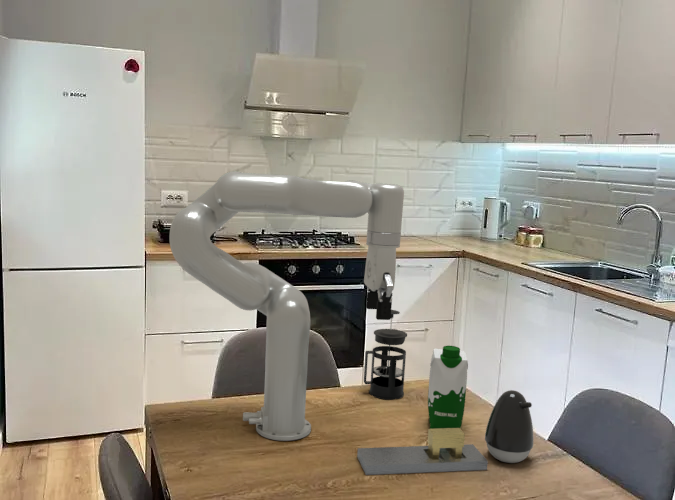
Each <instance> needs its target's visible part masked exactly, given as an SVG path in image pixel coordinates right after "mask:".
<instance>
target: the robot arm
mask: <svg viewBox="0 0 675 500" xmlns="http://www.w3.org/2000/svg"><path fill="white" fill-rule="evenodd" d="M404 198H405V190H404V188H403V186H401V185H399V184H395V183H394V184H393V183H382V182H381V183H380V182H379V183H367V182H364V181H358V180H345V181H331V180H328V181H327V180H317V179H308V178H305V177H301V176H297V175H290V174H273V173H256V172H255V173H254V172H253V173H252V172H242V171H234V170H233V171H229V172H227V173H224V174H222V175H220V177H219V178H218V180H217V181H216V182H215V183H214V184H213V185H211V187H209V188H208V189H207V190H206V191H205V192H204V193H202V194H201V195H200V196H199V197H197V198H196V199H195V200H193V201H192V202H191V203H190V204H188V205H187V206H186V207H184V208H182V209H181V210H179V211H178V212H177V213H176V214H175V216H174V217H173V219H172V222H171V225H170V229H169V245H170V250H171V253H172V256H173V257H174V260H175V262H177V264H178V265H179V266H180V267H181V268H182V269H183V271H185V272H186V273H187V274H189V276H191V277H193V279H194V278H195V280H198V281H199V282H200V283H202V284H203V285H205V286H206V287H208V288H209V289H210V290H212V291H213V292H215V293H216V294H218V295H220V296H221V297H222V298H225V299H226V300H227V301H228V302H230V303H232V305H234V306H236V307H238V308H239V309H240V310H244V311H254V310H257V311H259V313H262V315H264V316H266V326H265V327H266V334H265V336H266V337H265V361H264V365H265V369H264V371H265V372H264V390H263V391H264V392H263V393H264V396H263V406H261V408H260V410H257V411H256V412H249V411H248V412H247V411H246V412H244V411H243V413H242V421H243V422H248V424H249V425H255V430H256V432H257V434H259V435H260V436H262V437H264V438H266V439H269V440H274V441H282V442H283V441H284V442H286V441H297V440H300V439H303V438H305V437H307V436H309V435H310V433H311V431H312V424H311V422H309V421H308V420H307V419H306V399H307V380H308V377H307V376H308V359H309V358H308V357H309V342H310V333H311V332H310V331H311V313H310V307H309V303H308V299H307V297H306V295H304V293H303V292H302V291H301V290H299V289H298V288H297V287H296V286H294V285H293V284H291V283H289V282H288V281H286V280H285V279H284V278H282V277H280V276H279V275H277V274H275V272H273V271H271V270H269V269H268V268H267V267H265V266H263V265H261V264H259V263H255V262H244V263H243V262H241V261H239V259H237V258H235V257H233V255H231V254H229V253H228V252H227V251H225V250H223V249H221V248H219V247H218V246H216V245H215V244H214V243H213V241H211V236H213V234H214V233H215V232H216V231H218V230H219V229H220V228H221V227H222V226H223V225H225V224H226V223H227V222H229V221H230V220H231V219H232V218H233V217H234V216H235V215H237V214H238V213H239V212H240V213H264V214H267V213H268V214H277V215H279V214H280V215H291V216H292V215H293V216H315V217H328V218H329V217H330V218H352V219H354V218H355V219H357V218H361V217H362V216H365V215H366V214H367V215H368V216H367V231H366V242H365V243H366V244H365V245H366V246H368V248H367V252H366V259H365V269H364V276H363V277H364V278H363V283H364V285H365V286H366V287H367V289H366V291H367V292H366V302H365V303H366V305H365V308H366V309H367V310H376V312H375V318H376V320H377V321H381V320H382V321H385V320H386V321H391V310H392V305H393V304H392V303H393V291H394V289H395V282H396V269H397V268H396V265H397V263H396V262H397V249H399V248H400V246H401V239H402V238H401V237H402V224H403V222H402V220H403V213H404V212H403V210H404V200H405V199H404Z"/></svg>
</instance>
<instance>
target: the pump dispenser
mask: <svg viewBox="0 0 675 500" xmlns="http://www.w3.org/2000/svg"><path fill="white" fill-rule="evenodd" d="M532 406H533V404H532V402H529V401H528V402H527V400H526V397H525V396H524V395H523V394H522V393H521V392H520V391H517V390H512V389H510V390H509V389H508V390H506V391H504V392H503V393H502V394H501V395H500V396H499V397H498V399H497V400H496V402H495V404H494V406H493V408H492V410H491V412H490V414H489V415H490V416H489V418H488V420H487V425H486V429H485V434H484V440H485V442H486V447H487V450H488V451H489V454H490V455H491V456H492V457H494V458H495V459H497V460H499V461H500V462H502V463H506V464H507V463H509V464H516V463H519V462H520V463H521V462H522V461H525V459H527V457H528V456H529V455H530V452H531V450H532V449H533V447H534V424H533V421H532V415H531V410H530V408H532Z"/></svg>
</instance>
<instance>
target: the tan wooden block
mask: <svg viewBox="0 0 675 500" xmlns="http://www.w3.org/2000/svg"><path fill="white" fill-rule="evenodd" d="M427 430H428V431H427V441H426V443H427V444H428V445H427V446H428V457H429V458H430V460H436V459H439V451H440V448H450V455H451V456H452V458H453V459H461V457H462V447H464V445H465V439H466V438H465V435H466V433H465V432H464V431H463V430H462V428H461V429H460V428H439V429H430V428H428V429H427Z"/></svg>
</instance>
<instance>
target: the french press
mask: <svg viewBox="0 0 675 500" xmlns="http://www.w3.org/2000/svg"><path fill="white" fill-rule="evenodd" d="M400 314H401V313H400V311H399V310H396V309H391V319H390V325H389V326H390V327H389V328H380V329H375V330H373V335H374V341H375V342H376V343H378V344H381V345H380V346H375V347H373V348H372V350H366V351H365V354H364V369H363V370H364V371H363V383H364V385H370V388H369V390H368V393H369V395H370V396H372V397H374V398H375V399H376V398H377V399H379V400H386V401H387V400H388V401H390V400H391V401H392V400H393V401H394V400H399V399H402V398H403V397H404V395H405V393H404V385H405V374H406V373H405V369H406V356H407V351H406V350H405V349H403V348H401V347H398V346H400V345H403V344H404V343H405V341H406V338H407V337H408V333H407V332H405V331H403V330H399V329H394V328H392V326H393V319H394V315H400ZM379 352H381V353H379ZM391 352H395V353H399V354H398V355H390V354H391ZM369 354H371V355H372V356H371V370H370V380H369V381H368V380H367V377H368V376H367V373H368V372H367V370H368V358H369ZM375 358H376V359H378V360H380V362H381V363H380V365H378V366H375ZM398 361H402V364H401V365H402V367H401V368H399V367H397V362H398ZM374 375H375V376H374ZM400 377H401V379H400Z"/></svg>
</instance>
